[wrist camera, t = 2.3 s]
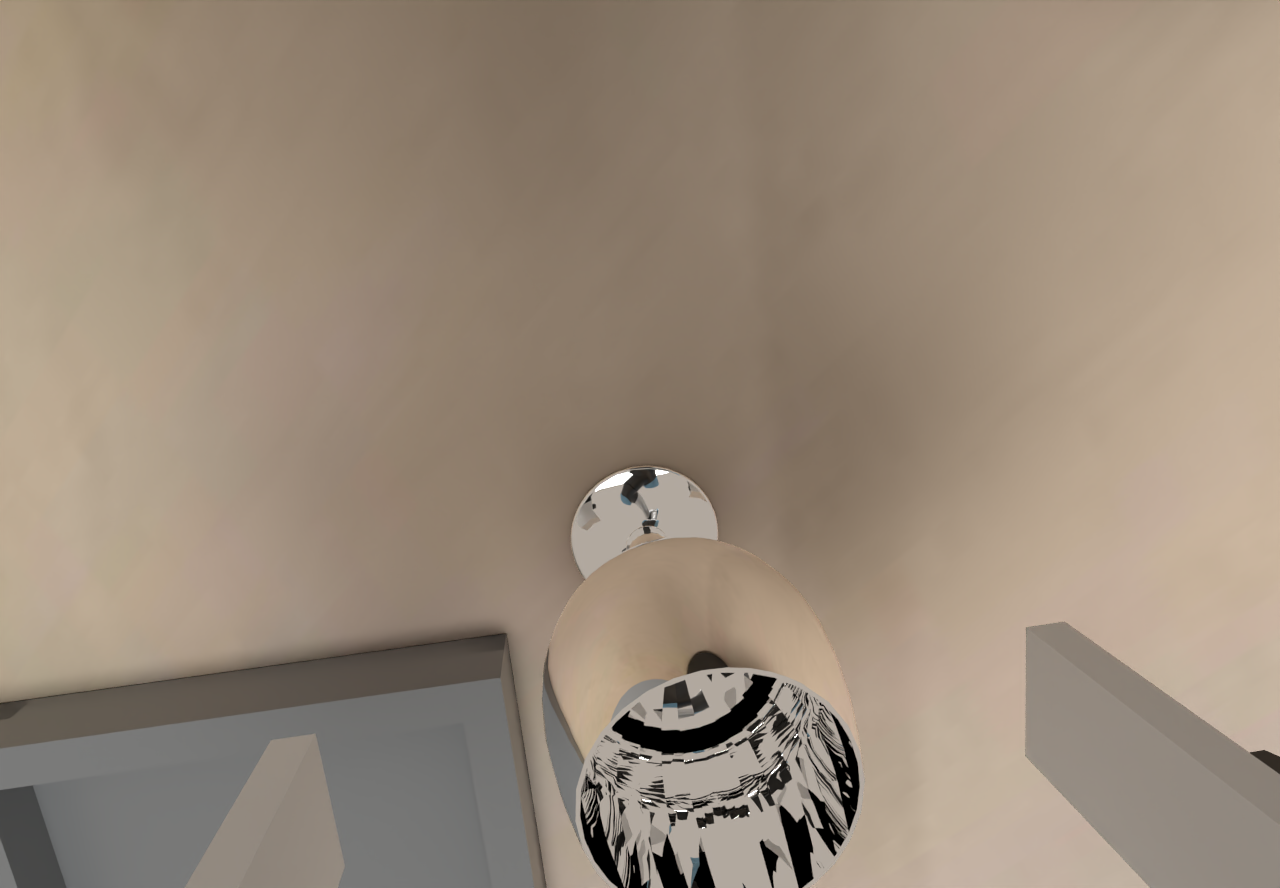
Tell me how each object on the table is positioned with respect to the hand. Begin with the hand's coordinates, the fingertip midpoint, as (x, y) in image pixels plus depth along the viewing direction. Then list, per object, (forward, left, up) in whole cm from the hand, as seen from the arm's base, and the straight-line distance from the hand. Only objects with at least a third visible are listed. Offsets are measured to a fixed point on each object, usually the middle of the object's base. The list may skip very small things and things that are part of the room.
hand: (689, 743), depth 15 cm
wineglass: (0, 0, -10) cm, 10 cm away
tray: (+10, -12, -10) cm, 18 cm away
